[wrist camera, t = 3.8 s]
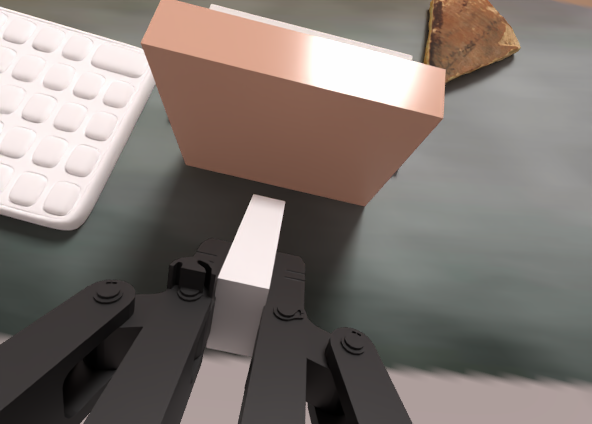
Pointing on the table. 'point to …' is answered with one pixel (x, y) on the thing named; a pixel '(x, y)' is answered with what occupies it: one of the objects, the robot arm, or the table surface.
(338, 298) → the table surface
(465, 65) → the shard
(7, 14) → the calculator
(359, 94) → the terracotta tile
